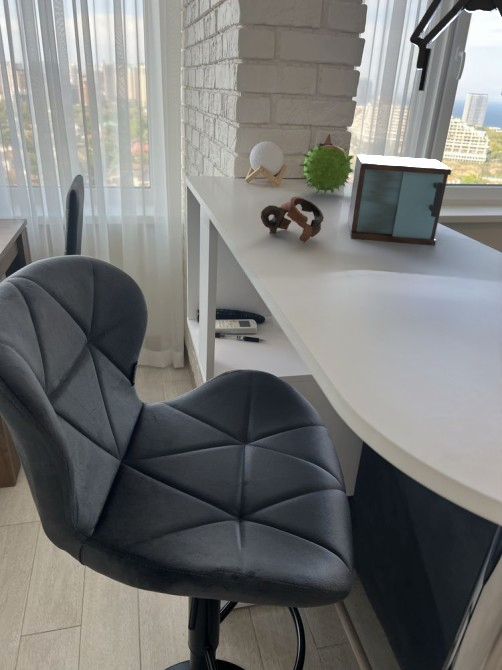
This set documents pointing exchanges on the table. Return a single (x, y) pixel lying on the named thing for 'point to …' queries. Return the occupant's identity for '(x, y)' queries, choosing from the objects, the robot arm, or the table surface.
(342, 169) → the chestnut
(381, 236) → the display cabinet
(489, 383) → the table surface
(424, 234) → the glass door
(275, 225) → the two-tone looped frame
